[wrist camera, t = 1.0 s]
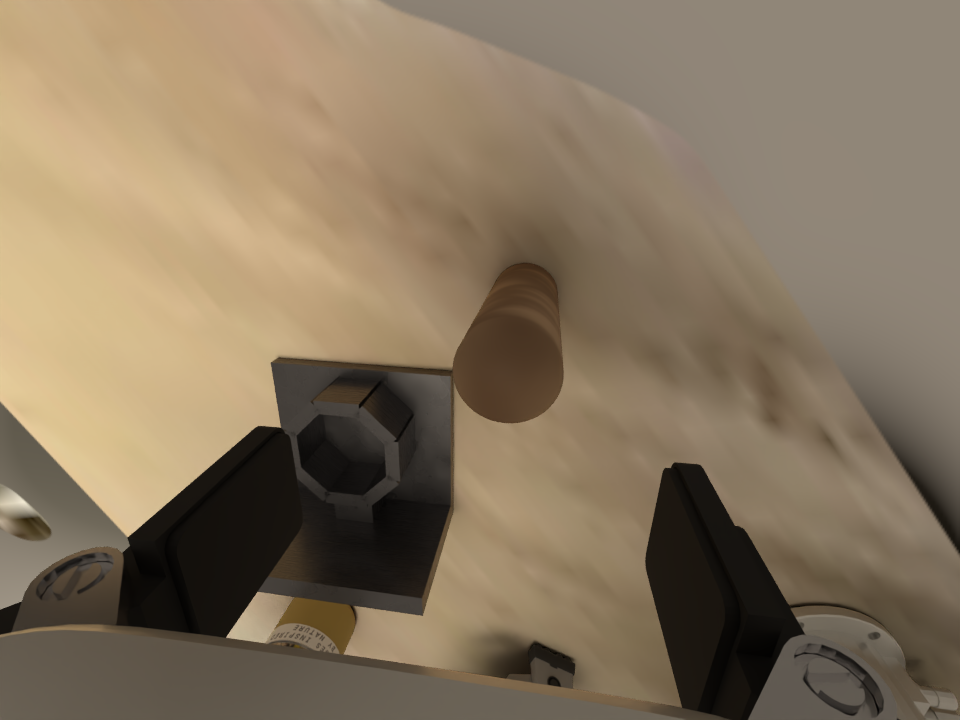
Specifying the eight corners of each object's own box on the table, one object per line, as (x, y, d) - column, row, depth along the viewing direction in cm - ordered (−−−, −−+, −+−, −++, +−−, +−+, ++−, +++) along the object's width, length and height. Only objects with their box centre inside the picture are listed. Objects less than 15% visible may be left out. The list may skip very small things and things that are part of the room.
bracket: (453, 512, 38) (422, 615, 29) (298, 494, 40) (223, 586, 31) (453, 371, 34) (416, 441, 24) (278, 357, 35) (181, 418, 26)
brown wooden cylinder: (560, 264, 30) (568, 324, 17) (554, 328, 31) (558, 427, 18) (493, 261, 30) (452, 317, 17) (492, 324, 32) (452, 418, 19)
